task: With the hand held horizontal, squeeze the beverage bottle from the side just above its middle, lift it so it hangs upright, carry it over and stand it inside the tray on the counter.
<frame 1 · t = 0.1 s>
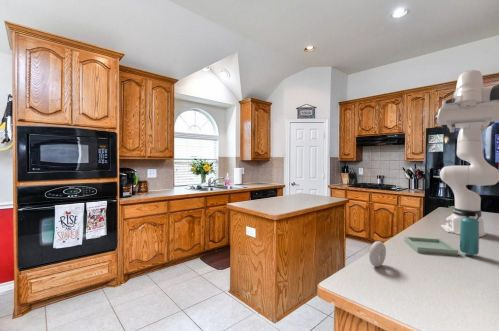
hand: (467, 130, 100), 54 cm above the counter, tool tilted 30°, fingers open, 8 cm apart
tray: (429, 248, 119), on the counter
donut: (377, 266, 99), on the counter
beverage bottle: (468, 255, 110), on the counter
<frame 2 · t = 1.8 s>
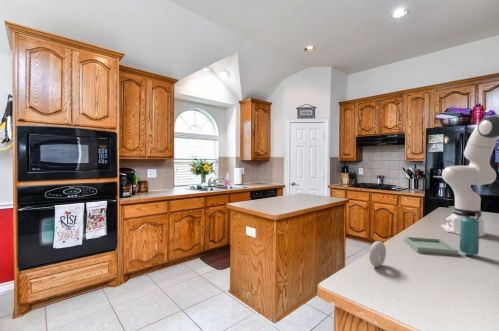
nothing on the counter moved.
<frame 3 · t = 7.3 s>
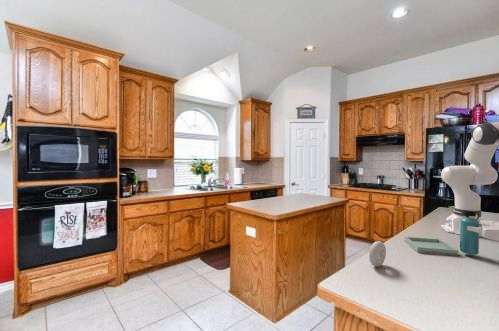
hand: (466, 225, 110), 13 cm above the counter, tool horizontal, fingers closed on beverage bottle, 6 cm apart
beverage bottle: (468, 255, 110), on the counter, touching gripper
everything else where it was.
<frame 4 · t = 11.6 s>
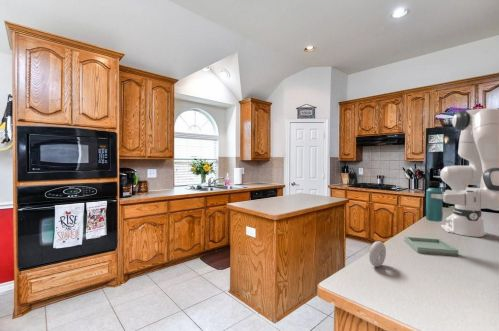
hand: (431, 194, 118), 26 cm above the counter, tool horizontal, fingers closed on beverage bottle, 6 cm apart
beverage bottle: (433, 223, 118), point 12 cm above the counter, touching gripper
everything else where it was.
when the fingers open (15 cm above the counter, at t = 16.0 s): beverage bottle stays where it is, resting on tray.
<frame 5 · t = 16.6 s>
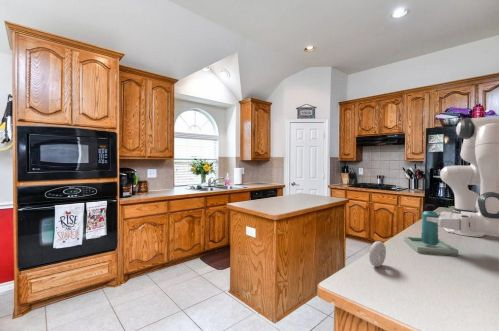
hand: (427, 216, 119), 15 cm above the counter, tool horizontal, fingers open, 8 cm apart
beverage bottle: (429, 246, 119), point 1 cm above the counter, touching tray
everything else where it was.
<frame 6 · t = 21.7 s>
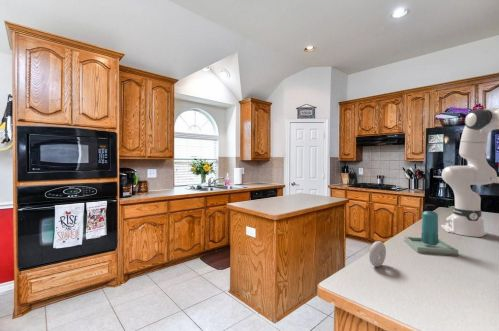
hand: (490, 179, 106), 34 cm above the counter, tool horizontal, fingers open, 8 cm apart
nothing on the counter moved.
at the end: beverage bottle 0.1 cm from the tray (horizontally); beverage bottle tilted 0°; the gripper is holding nothing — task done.
